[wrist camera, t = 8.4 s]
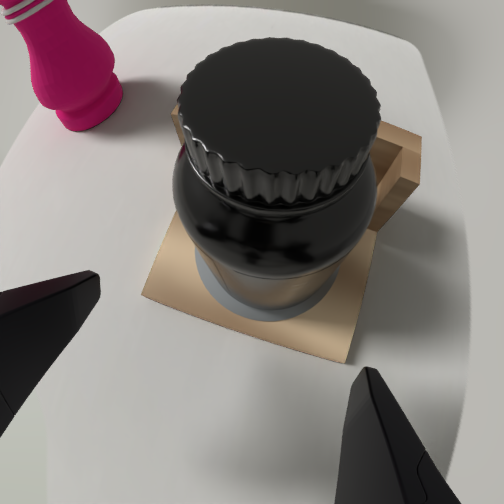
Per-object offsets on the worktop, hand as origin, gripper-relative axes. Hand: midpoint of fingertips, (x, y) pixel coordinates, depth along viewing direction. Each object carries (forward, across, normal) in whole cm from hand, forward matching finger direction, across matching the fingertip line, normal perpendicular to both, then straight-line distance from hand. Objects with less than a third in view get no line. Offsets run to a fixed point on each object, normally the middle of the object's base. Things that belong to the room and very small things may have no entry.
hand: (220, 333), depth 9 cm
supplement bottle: (+9, 0, +2) cm, 9 cm away
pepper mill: (+16, +19, -4) cm, 25 cm away
